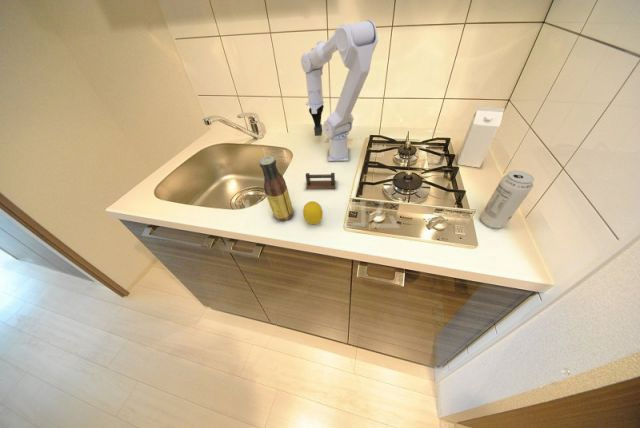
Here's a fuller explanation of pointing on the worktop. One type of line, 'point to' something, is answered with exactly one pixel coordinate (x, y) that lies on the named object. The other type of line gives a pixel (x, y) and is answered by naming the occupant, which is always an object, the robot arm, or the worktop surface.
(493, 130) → the milk carton
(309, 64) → the robot arm
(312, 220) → the lemon
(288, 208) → the sauce bottle
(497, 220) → the energy drink can
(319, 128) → the clip
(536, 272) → the worktop surface
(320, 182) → the handle rail
